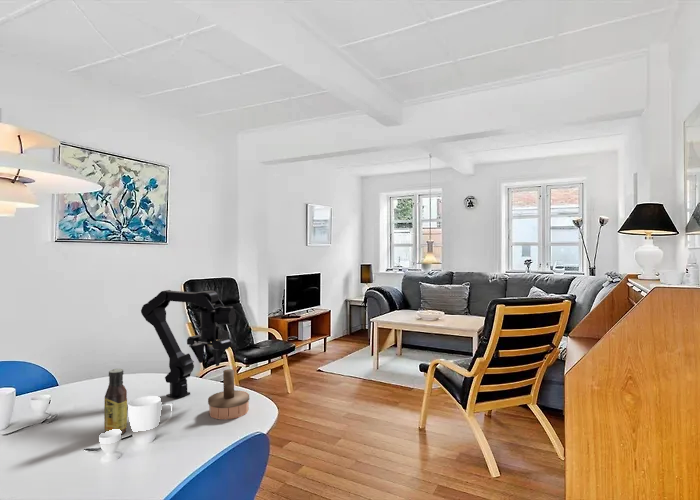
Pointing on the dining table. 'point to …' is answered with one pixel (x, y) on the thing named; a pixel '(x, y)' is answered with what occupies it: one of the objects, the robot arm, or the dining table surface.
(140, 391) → the dining table surface
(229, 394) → the walnut lid
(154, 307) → the robot arm
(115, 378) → the sauce bottle
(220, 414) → the terracotta bowl
